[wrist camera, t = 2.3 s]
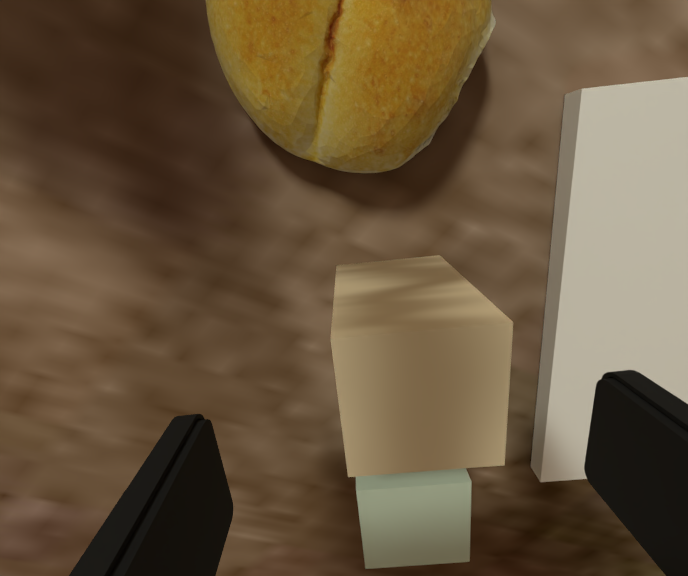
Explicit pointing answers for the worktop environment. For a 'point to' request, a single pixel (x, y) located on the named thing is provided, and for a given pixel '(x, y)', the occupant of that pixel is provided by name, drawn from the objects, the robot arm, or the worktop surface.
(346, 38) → the bread roll
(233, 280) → the worktop surface
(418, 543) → the sage cube
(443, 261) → the maple block
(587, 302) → the ceramic tile
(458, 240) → the worktop surface
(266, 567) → the worktop surface
